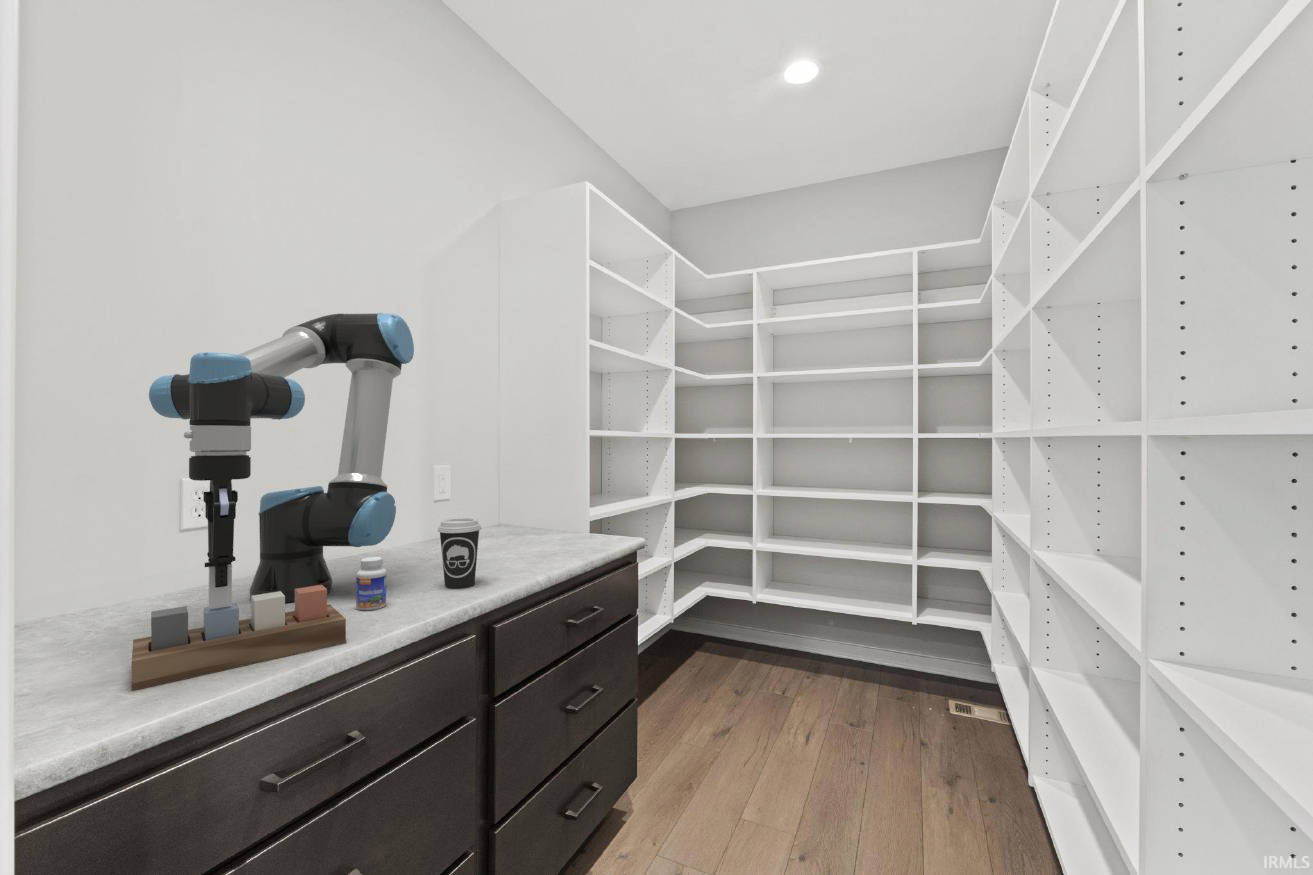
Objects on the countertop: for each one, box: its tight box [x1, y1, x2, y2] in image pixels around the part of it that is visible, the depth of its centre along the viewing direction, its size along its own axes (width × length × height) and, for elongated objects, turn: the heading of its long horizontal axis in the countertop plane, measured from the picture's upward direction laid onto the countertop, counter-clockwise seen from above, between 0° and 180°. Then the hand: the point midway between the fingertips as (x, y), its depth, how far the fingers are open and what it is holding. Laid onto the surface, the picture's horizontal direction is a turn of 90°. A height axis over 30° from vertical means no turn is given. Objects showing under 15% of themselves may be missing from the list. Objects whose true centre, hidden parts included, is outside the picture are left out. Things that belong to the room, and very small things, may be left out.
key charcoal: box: [150, 605, 189, 651], centre depth 82 cm, size 4×4×5 cm
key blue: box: [203, 602, 240, 641], centre depth 86 cm, size 4×4×5 cm
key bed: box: [131, 603, 347, 692], centre depth 88 cm, size 11×26×4 cm, turn 132°
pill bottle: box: [355, 556, 387, 611], centre depth 113 cm, size 5×5×10 cm
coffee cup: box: [437, 517, 482, 590], centre depth 129 cm, size 10×10×15 cm
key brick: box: [294, 585, 328, 623], centre depth 94 cm, size 4×4×5 cm
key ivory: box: [250, 591, 286, 631], centre depth 90 cm, size 4×4×5 cm
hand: (220, 606), depth 86 cm, fingers closed
